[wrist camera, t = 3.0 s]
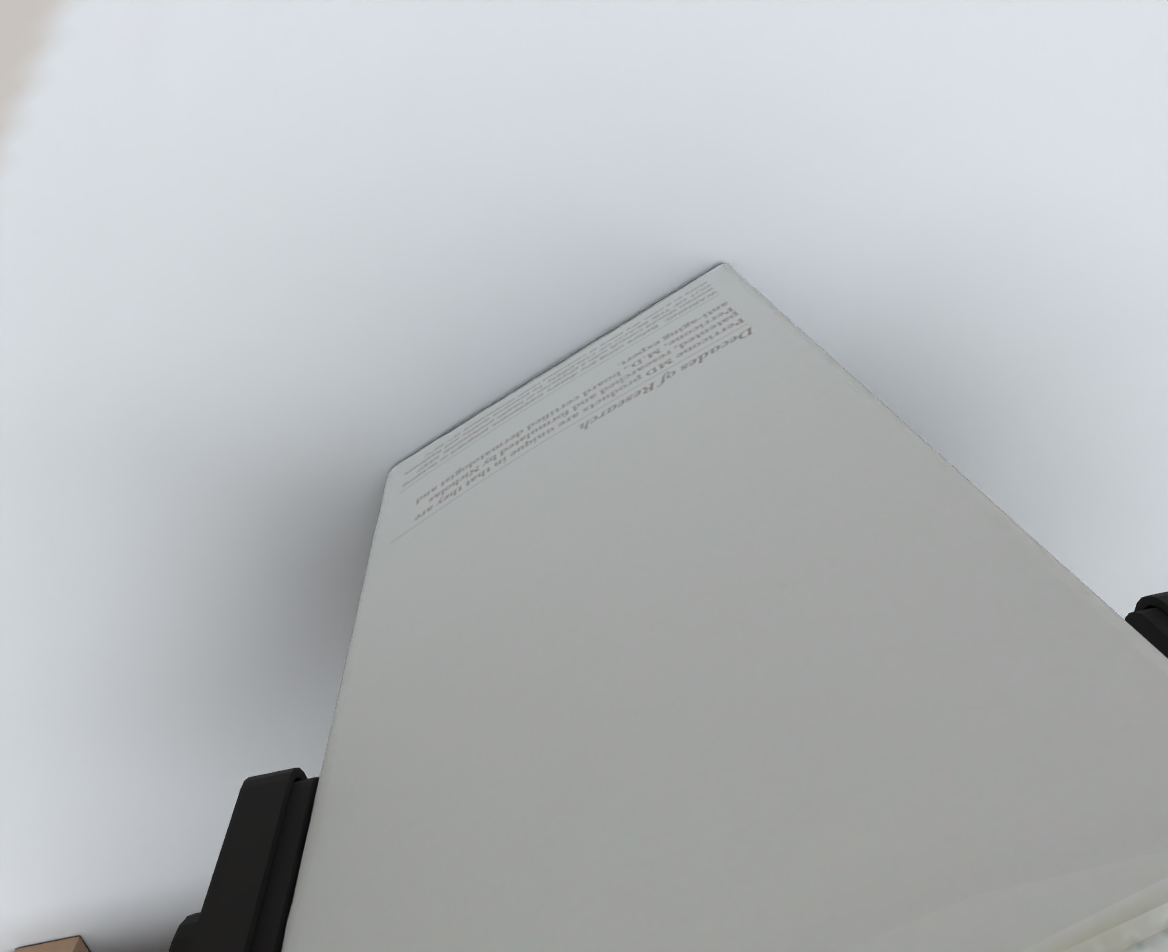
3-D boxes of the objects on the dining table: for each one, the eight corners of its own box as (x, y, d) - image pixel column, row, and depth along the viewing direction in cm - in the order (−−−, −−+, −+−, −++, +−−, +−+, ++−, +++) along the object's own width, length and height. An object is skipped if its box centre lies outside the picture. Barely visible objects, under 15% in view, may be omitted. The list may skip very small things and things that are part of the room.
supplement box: (375, 465, 16) (107, 1415, 5) (730, 249, 15) (1450, 818, 4) (581, 723, 19) (712, 1681, 8) (889, 558, 18) (1553, 1391, 7)
